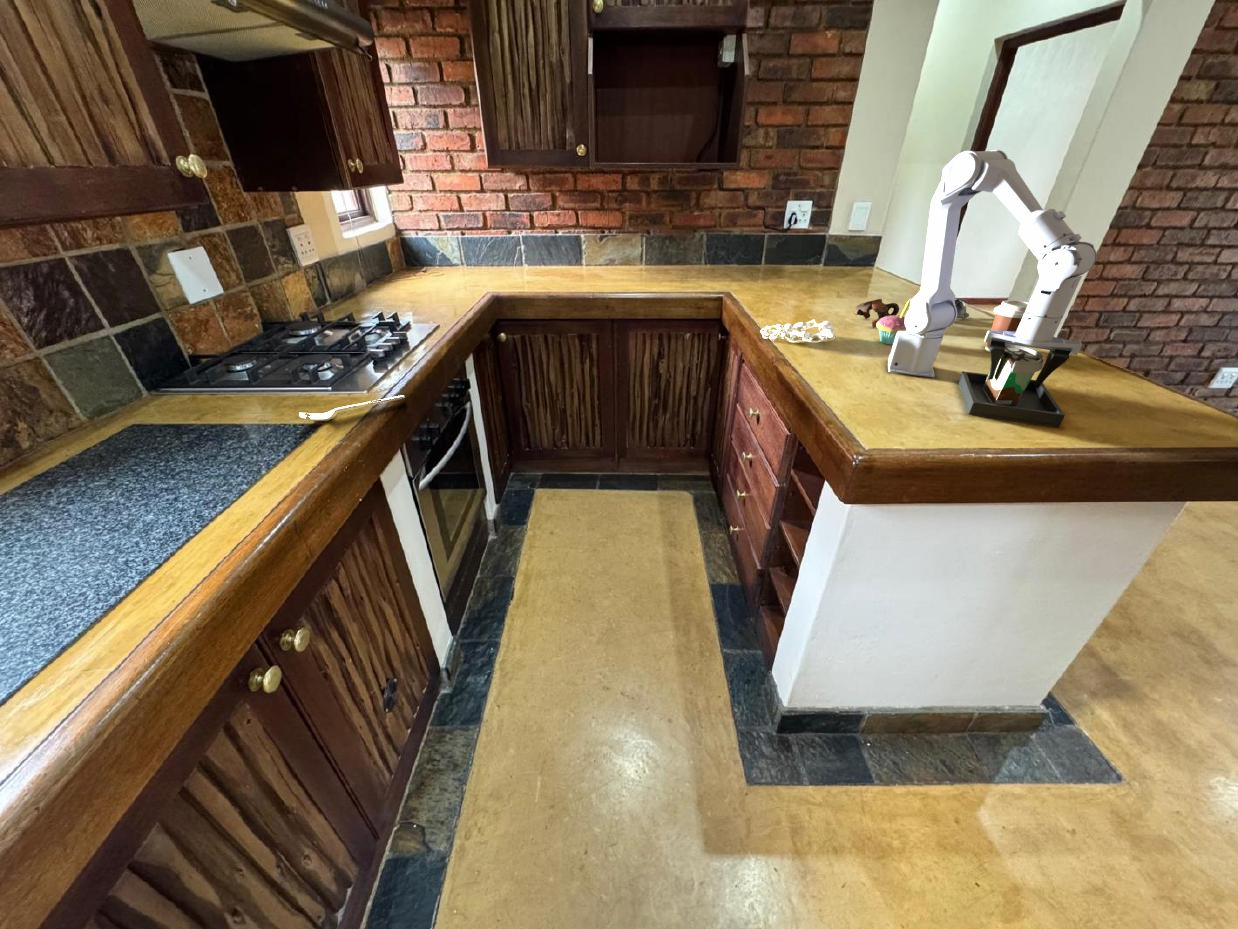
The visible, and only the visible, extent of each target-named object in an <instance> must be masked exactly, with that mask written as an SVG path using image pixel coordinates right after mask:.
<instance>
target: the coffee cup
mask: <svg viewBox="0 0 1238 929" xmlns="http://www.w3.org/2000/svg"><path fill="white" fill-rule="evenodd" d="M1028 304H1029V301H1026V300H1020V299H1019V300H1018V299H1006V300H1003V301H1002V302H1001V304H999V305H997V306H996V307H994V309H993V313H994V314H995V315H994V318H993V322H992V325H991V327H990V328H991V329H990V330H993V331H1009V332H1016V331H1017V329H1018V327H1019V324H1020V322H1021V320H1022V317H1023V315H1024V313H1025V311H1026V308H1027V306H1028ZM984 348H985V350H986V351H987V352H989V353H990V343H989V342H986V345H985V347H984Z"/></svg>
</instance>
